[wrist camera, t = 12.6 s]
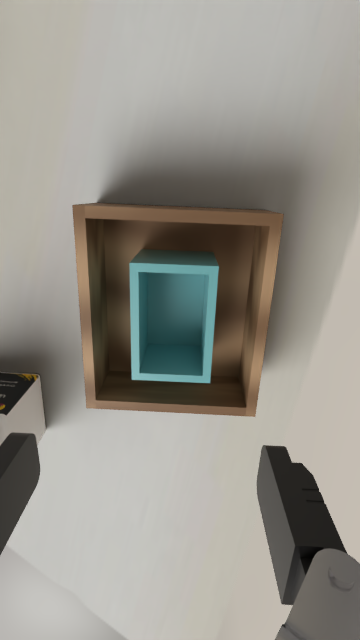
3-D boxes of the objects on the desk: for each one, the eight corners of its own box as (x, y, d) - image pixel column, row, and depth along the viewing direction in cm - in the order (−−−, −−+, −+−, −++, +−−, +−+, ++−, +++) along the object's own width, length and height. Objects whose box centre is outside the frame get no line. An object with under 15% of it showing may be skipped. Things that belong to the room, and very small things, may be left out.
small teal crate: (141, 249, 28) (129, 262, 23) (213, 251, 28) (218, 266, 23) (142, 346, 31) (131, 379, 26) (206, 349, 31) (210, 383, 26)
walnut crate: (96, 202, 28) (72, 205, 22) (264, 209, 28) (283, 214, 22) (103, 372, 34) (86, 408, 28) (244, 379, 33) (255, 416, 28)
